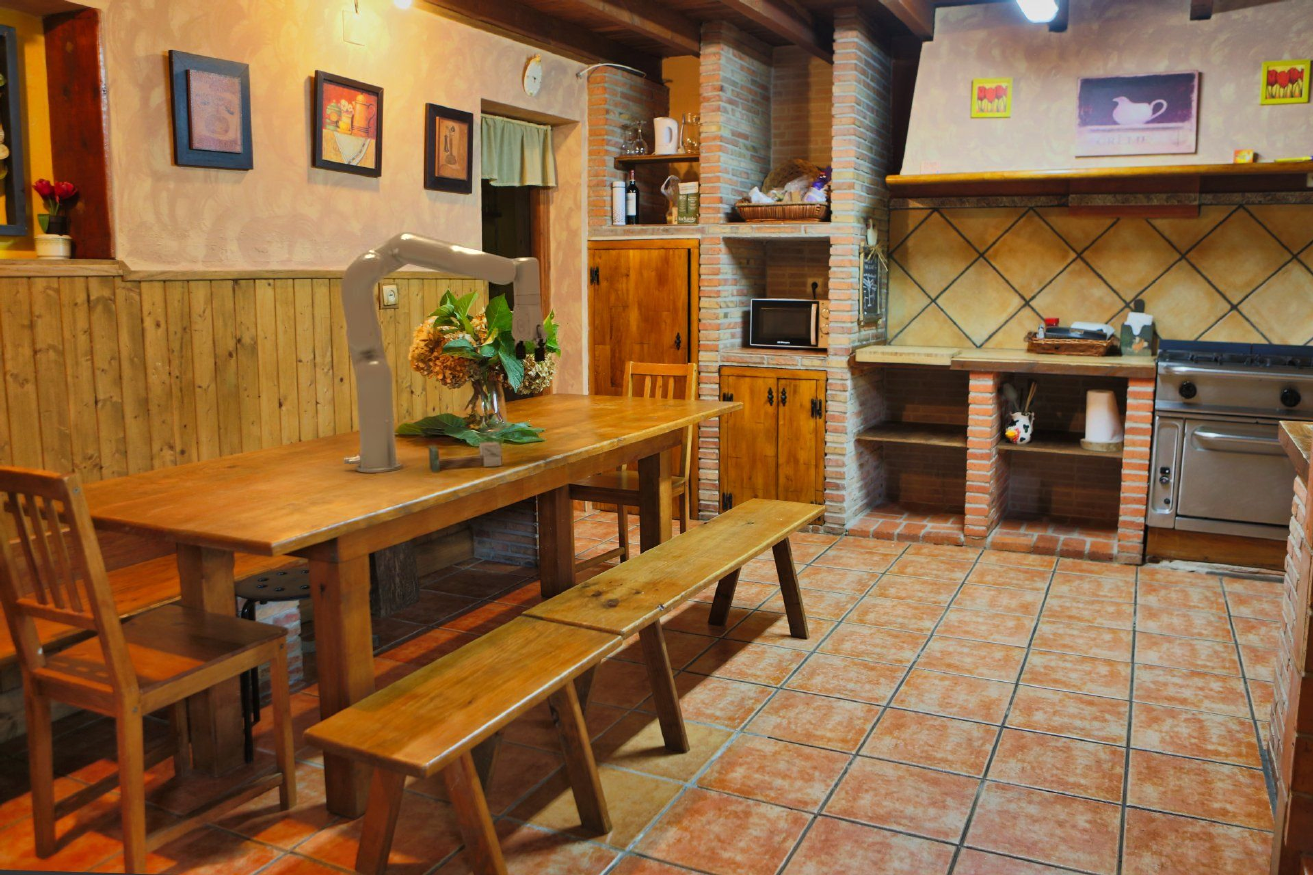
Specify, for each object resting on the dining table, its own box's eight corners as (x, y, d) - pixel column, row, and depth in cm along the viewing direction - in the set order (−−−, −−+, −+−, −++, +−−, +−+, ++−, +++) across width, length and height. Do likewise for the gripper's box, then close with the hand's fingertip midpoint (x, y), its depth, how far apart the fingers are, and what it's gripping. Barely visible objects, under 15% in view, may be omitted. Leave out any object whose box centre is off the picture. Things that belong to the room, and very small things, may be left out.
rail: (434, 472, 286) (433, 450, 285) (429, 466, 293) (428, 445, 292) (504, 466, 292) (503, 445, 291) (498, 461, 300) (497, 440, 299)
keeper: (484, 466, 291) (483, 446, 290) (479, 462, 297) (478, 442, 296) (501, 465, 293) (500, 445, 292) (496, 461, 299) (496, 441, 298)
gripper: (500, 301, 302) (503, 359, 305) (533, 302, 289) (536, 363, 292) (521, 299, 307) (524, 357, 310) (555, 301, 294) (558, 361, 297)
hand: (530, 360), depth 301 cm, fingers open, 9 cm apart
